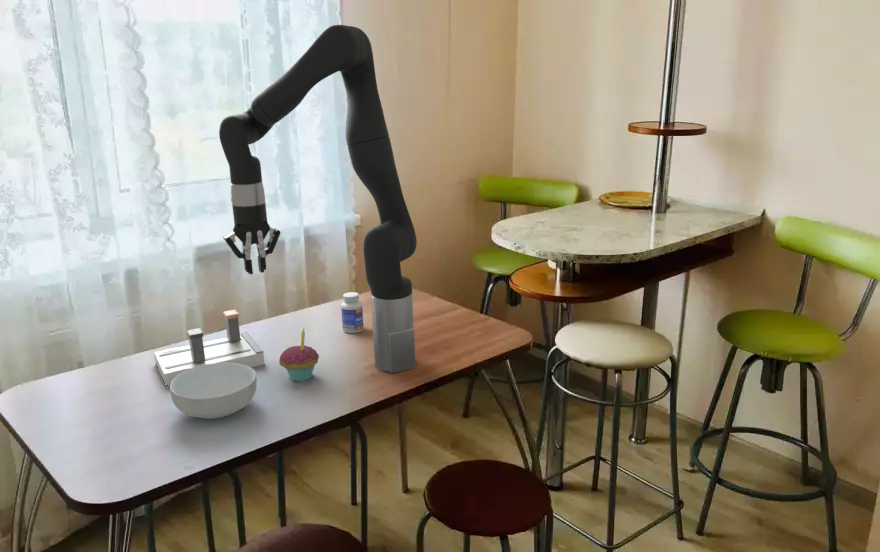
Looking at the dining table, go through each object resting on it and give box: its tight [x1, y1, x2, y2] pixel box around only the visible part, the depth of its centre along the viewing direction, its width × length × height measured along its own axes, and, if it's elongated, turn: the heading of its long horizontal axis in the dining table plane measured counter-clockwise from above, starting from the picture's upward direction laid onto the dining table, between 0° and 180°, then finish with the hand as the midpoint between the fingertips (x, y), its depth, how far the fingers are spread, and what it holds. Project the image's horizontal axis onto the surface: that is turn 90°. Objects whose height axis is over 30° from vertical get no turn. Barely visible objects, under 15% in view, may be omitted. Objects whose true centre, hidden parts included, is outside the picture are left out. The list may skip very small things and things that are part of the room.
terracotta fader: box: [223, 309, 241, 342], centre depth 177 cm, size 3×3×7 cm
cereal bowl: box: [169, 363, 258, 420], centre depth 149 cm, size 17×17×7 cm
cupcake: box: [278, 328, 320, 382], centre depth 163 cm, size 9×8×12 cm
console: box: [153, 331, 265, 387], centre depth 172 cm, size 14×22×3 cm, turn 119°
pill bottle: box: [340, 291, 364, 334], centre depth 189 cm, size 5×5×10 cm
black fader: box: [186, 327, 205, 363], centre depth 165 cm, size 3×3×7 cm
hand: (256, 272), depth 176 cm, fingers closed
